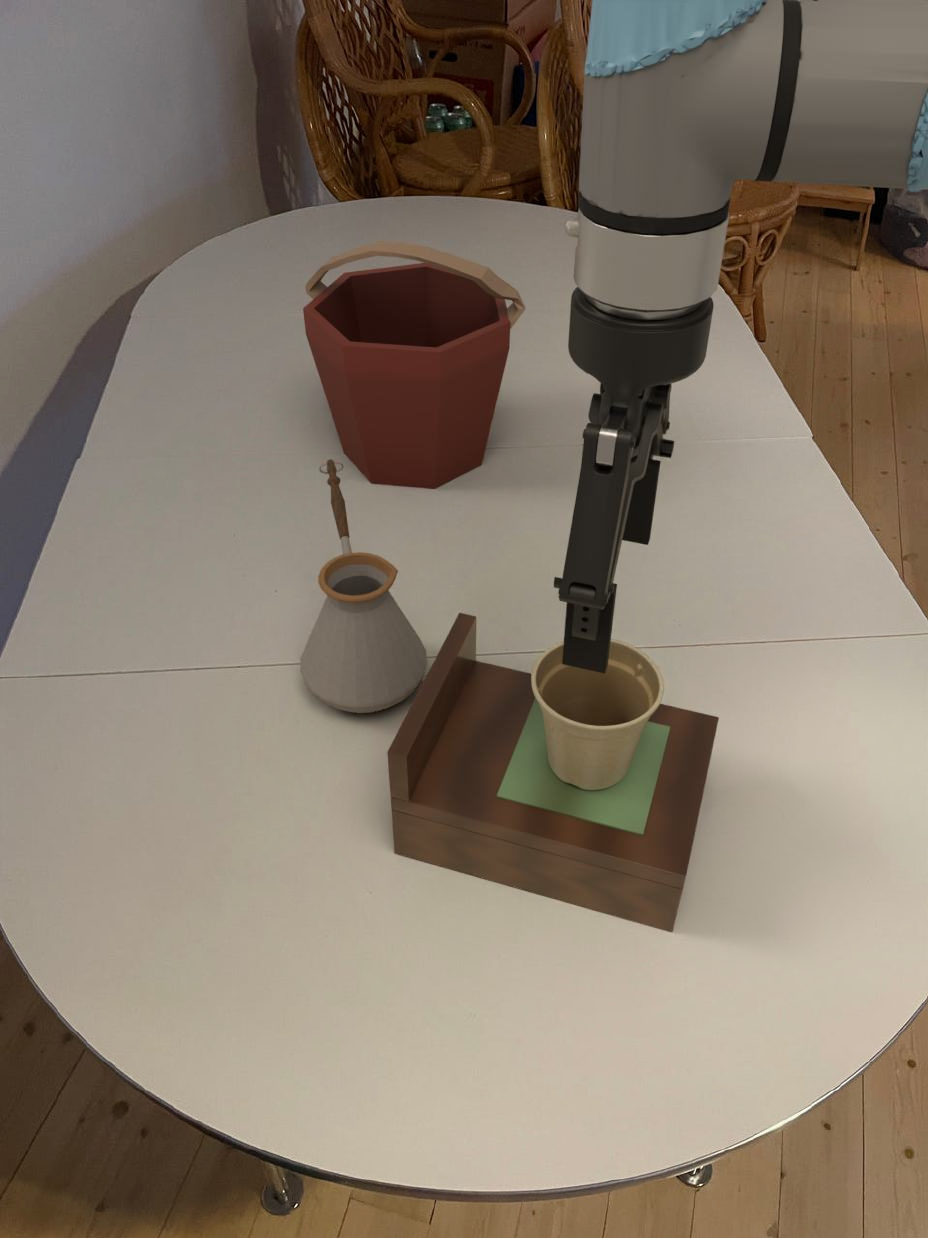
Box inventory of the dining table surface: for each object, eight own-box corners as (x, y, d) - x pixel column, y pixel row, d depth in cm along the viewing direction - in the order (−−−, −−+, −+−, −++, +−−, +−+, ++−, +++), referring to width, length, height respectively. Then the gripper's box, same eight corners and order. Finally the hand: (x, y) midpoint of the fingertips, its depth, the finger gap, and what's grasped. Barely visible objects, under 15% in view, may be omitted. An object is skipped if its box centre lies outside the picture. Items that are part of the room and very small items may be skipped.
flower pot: (500, 756, 80) (503, 675, 74) (585, 697, 85) (594, 618, 79) (590, 830, 75) (600, 750, 69) (675, 764, 80) (691, 683, 74)
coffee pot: (439, 717, 93) (436, 587, 83) (310, 739, 91) (292, 609, 81) (396, 571, 109) (390, 447, 99) (286, 587, 107) (268, 462, 97)
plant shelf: (705, 773, 88) (729, 672, 80) (672, 932, 77) (696, 832, 69) (459, 713, 93) (459, 612, 85) (394, 853, 82) (386, 752, 74)
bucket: (548, 442, 127) (561, 240, 111) (444, 532, 114) (441, 316, 97) (388, 387, 138) (378, 194, 121) (276, 463, 124) (247, 257, 107)
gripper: (622, 200, 65) (596, 486, 79) (506, 390, 47) (499, 714, 61) (744, 214, 63) (695, 503, 77) (672, 416, 45) (625, 744, 59)
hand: (609, 597), depth 69 cm, fingers open, 13 cm apart
